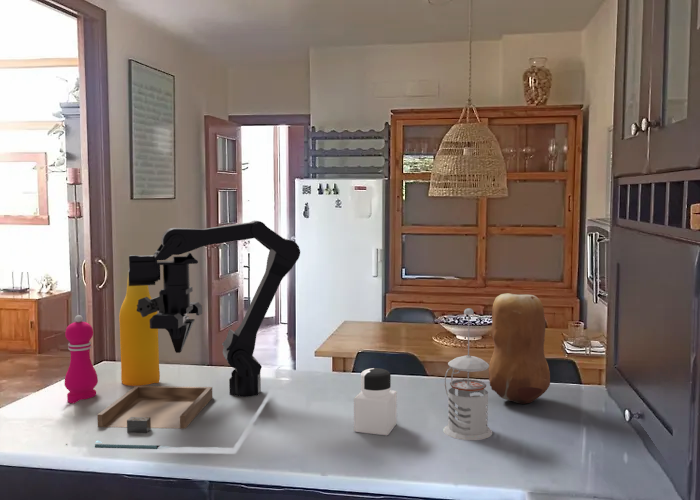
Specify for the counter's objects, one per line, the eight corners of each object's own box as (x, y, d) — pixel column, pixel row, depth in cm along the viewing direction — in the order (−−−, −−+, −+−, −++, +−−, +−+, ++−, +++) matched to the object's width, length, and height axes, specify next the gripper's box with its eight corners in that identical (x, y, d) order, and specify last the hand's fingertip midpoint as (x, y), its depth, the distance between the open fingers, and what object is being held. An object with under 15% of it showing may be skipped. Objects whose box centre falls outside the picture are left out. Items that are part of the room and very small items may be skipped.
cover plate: (171, 436, 133) (170, 417, 132) (156, 451, 125) (156, 431, 124) (113, 435, 134) (112, 415, 133) (95, 450, 126) (94, 429, 125)
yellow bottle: (167, 383, 167) (163, 269, 165) (134, 392, 161) (130, 273, 158) (147, 377, 174) (143, 267, 171) (114, 384, 167) (110, 270, 164)
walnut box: (212, 401, 153) (212, 386, 152) (185, 433, 133) (184, 416, 132) (136, 400, 154) (135, 385, 154) (97, 431, 134) (97, 414, 134)
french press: (462, 443, 126) (464, 314, 124) (428, 425, 137) (428, 305, 135) (502, 434, 131) (504, 309, 129) (466, 417, 141) (467, 301, 139)
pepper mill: (86, 405, 150) (83, 318, 149) (58, 403, 152) (54, 317, 150) (104, 396, 158) (101, 312, 156) (77, 394, 159) (74, 311, 157)
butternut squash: (522, 389, 161) (524, 287, 159) (562, 405, 149) (564, 295, 147) (475, 397, 155) (476, 291, 153) (512, 414, 143) (514, 299, 141)
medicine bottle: (397, 424, 137) (397, 367, 136) (387, 436, 131) (387, 376, 130) (364, 420, 140) (364, 364, 139) (353, 432, 133) (353, 373, 132)
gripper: (156, 278, 159) (158, 342, 160) (124, 289, 140) (127, 362, 141) (202, 278, 158) (203, 343, 159) (176, 290, 139) (178, 363, 141)
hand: (178, 352), depth 150 cm, fingers closed
